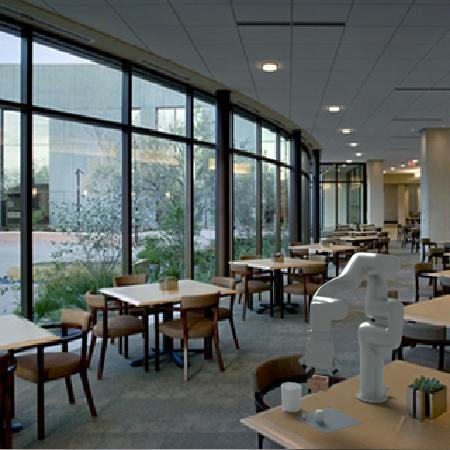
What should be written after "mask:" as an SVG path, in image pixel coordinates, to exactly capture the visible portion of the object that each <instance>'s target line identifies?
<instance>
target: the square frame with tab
mask: <svg viewBox="0 0 450 450" xmlns="http://www.w3.org/2000/svg"><path fill="white" fill-rule="evenodd" d="M332 387H333V385H332V386H331V387H330V388H329V387H328V376H325V375H319V374H312V377H311V378H309V379H308V381H307V388H306V389H308V390H310V391H311V394H312V393H313V394H318V393H319V391H320V392H328V391H329V390H330V389H331V388H332Z"/></svg>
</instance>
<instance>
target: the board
mask: <svg viewBox="0 0 450 450" xmlns="http://www.w3.org/2000/svg"><path fill="white" fill-rule="evenodd" d="M294 418H295V419H296V420H297V419H298V420H299V421H300V422H303V423H304V424H306V425H308V426H310V427H312V428H313V429H315V430H316V431H317V430H318V432H320V433H322V434H324V435H326V434H329V433H332V432H336V431H339V430H342V429H345V428H348V427H349V428H350V427H352V426H355V425H358V424H362V423H363V421H360V420H358V419H356V418H353V417H352V416H350V415H347V414H345V413H343V412H341V411H340V410H338V409H336V408H333V407H327V408H323V409H316V410H315V411H313V412H307V413H305V412H303V413H302V414H300V415H297V416H295V417H294Z"/></svg>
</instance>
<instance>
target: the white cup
mask: <svg viewBox="0 0 450 450" xmlns="http://www.w3.org/2000/svg"><path fill="white" fill-rule="evenodd" d="M302 389H303V388H302V385H301V384H300V383H297V382H283V383H281V385H280V390H281V391H280V393H281V405H282V406H281V407H282V408H281V409H282V412H283V413H284V412H288V413H296V412H299V411H300V410H301V405H302V403H301V402H302Z"/></svg>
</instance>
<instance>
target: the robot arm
mask: <svg viewBox="0 0 450 450" xmlns="http://www.w3.org/2000/svg"><path fill="white" fill-rule="evenodd" d="M401 269H402V262H401V259H400V258H399V257H398V256H397V255H395V254H394V255H393V254H384V253H376V252H364V251H363V252H356V253H354V254H352V256H351V257H350V259H349V260H348V261H347V263H346V265H345V266H344V268H343V270H342V272H341V273H340V274H339V275H338V276H337V277H334V278H332V279H331V280H329V281H327V282H326V283H324V284H323V285H321V286H320V287H319V288H318V289H317V291H316V292H315V293H314V295H313V297H312V299H311V302H310V306H309V329H308V330H306V331H305V335H308V337H307V340H306V345H305V352H304V355H303V356H301V357H300V358H299V359H298V361H297V362H298V363H299V364H300V365H301V367H302V369H303V370H304V371H305V373H306V377H305V378H306V381H307V382H308V379H309V378H311V377H312V376H313V370H312V368H314V369H321V370H327V372H328V376H327V377H328V387H329V388H330V387H331V386H332V387H333V386H334V385H335V375H336V374H338V372H339V371H340V370H341V369H343V367H344V366H343V365H342V363H341V362H340V361H339V360H338V359H337V358H336V354H335V353H336V351H335V344H334V340H333V339H332V321H340V320H343V319H345V318H346V317H347V316H348V315H349V313H350V307H349V304H348V303H347V301H345V300H343V299H341V298H340V299H339V298H335V297H337V296H340V295H345V294H349V293H352V292H355V291H357V290H358V289H359V288H360V286H361V285H362V283H363V281H364V280H366V281H365V282H366V284H367V285H366V294H365V303H364V314H365V316H366V317H367V318H368V319H369V318H370V319H374V320H380V321H385V322H387V323H388V324H386V323H381V322H376V321H364V322H362V323H359V325H358V328H357V339H358V342H359V343H358V344H359V390H358V391H356V393H355V397H356V398H357V399H358V400H360V401H362V402H365V403H369V404H384V403H385V402H387V401H388V395H387V394H386V392H388V391H391V390H392V388H391V386H390V385H386V386H384V383H385V381H384V380H385V376H384V375H385V371H384V369H385V365H384V363H385V357H384V354H383V351H382V349H387V350H397V349H398V348H399V347H400V346H401V343H402V336H403V332H404V331H403V330H404V322H405V307H404V304H403V302H402V301H401V300H400V299H398V298H394V297H393V298H392V297H388V292H389V284H388V282H387V279H386V278H385V276H386V277H395V276H396V275H398V274H399V273H400V271H401ZM335 366H336V368H335V369H334V367H335ZM332 387H331V388H332ZM331 388H330V389H331Z"/></svg>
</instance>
